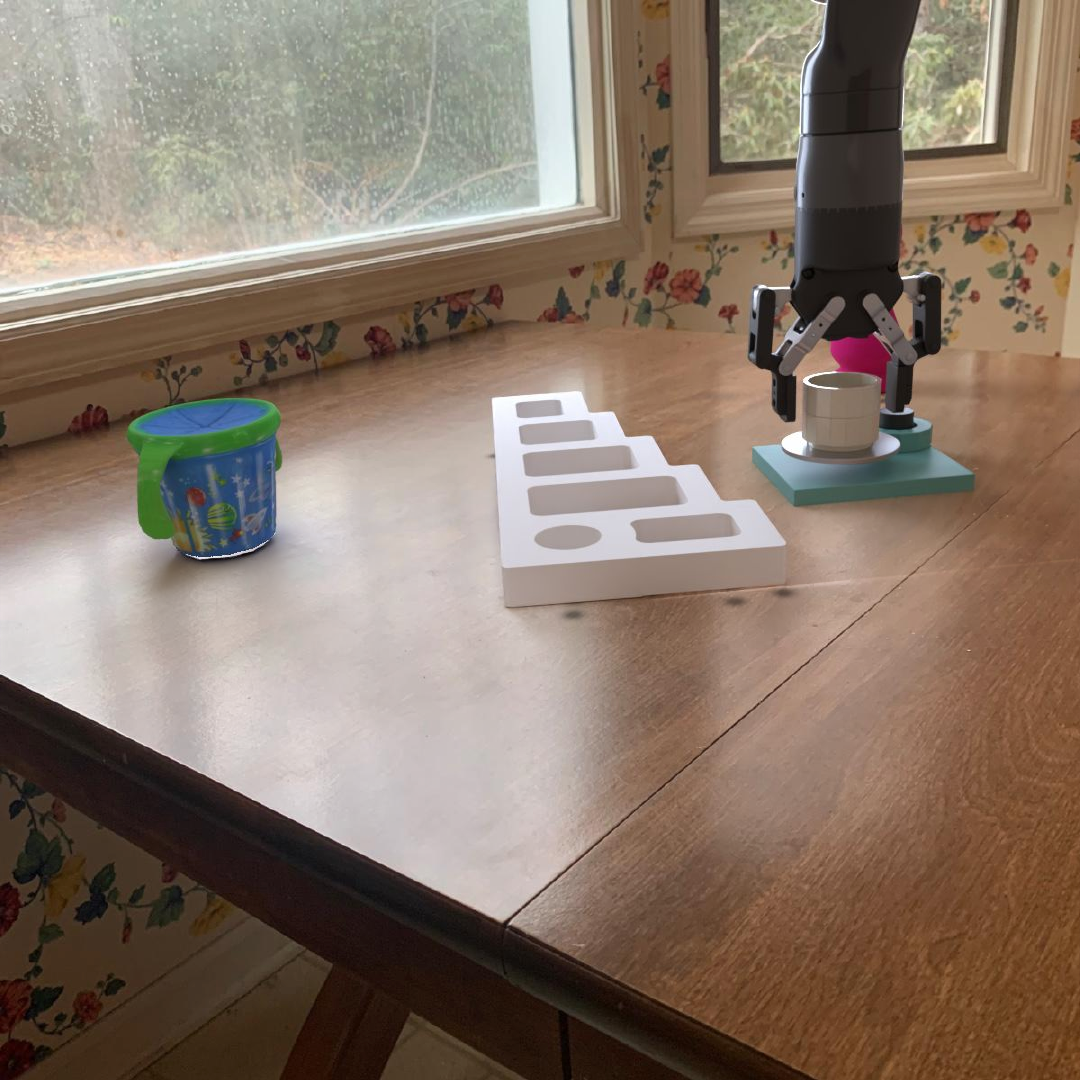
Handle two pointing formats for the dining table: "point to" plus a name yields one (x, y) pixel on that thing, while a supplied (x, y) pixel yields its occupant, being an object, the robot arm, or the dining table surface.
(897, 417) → the tare button
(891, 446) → the weighing plate
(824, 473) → the scale
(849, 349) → the pepper mill
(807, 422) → the beige cup
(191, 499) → the snack cup
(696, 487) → the holder
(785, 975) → the dining table surface
